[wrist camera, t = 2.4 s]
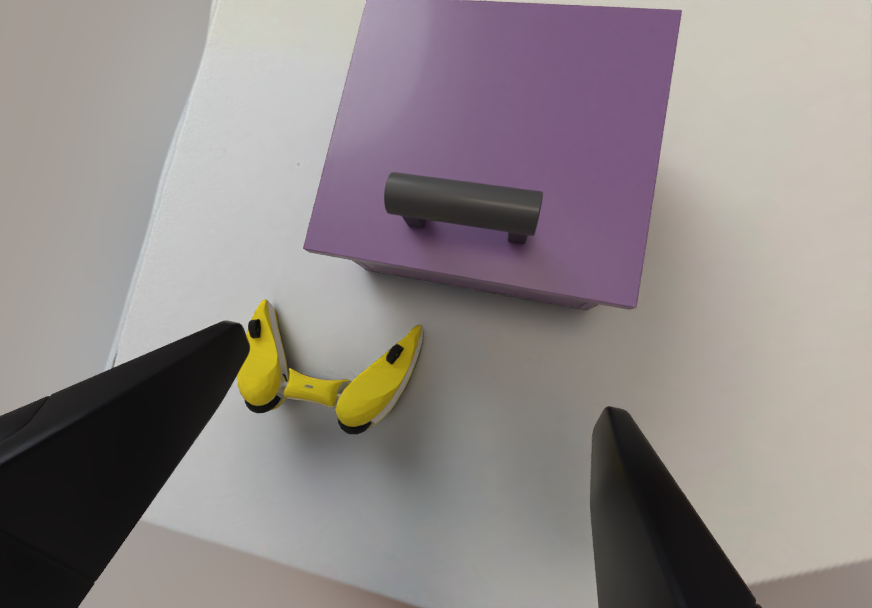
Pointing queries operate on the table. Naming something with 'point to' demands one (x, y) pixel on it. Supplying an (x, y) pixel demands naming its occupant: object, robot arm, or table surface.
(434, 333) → the table surface
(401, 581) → the table surface
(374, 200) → the lid
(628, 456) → the robot arm
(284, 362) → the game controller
